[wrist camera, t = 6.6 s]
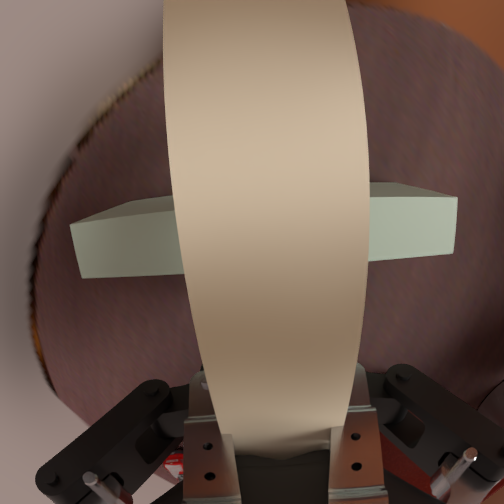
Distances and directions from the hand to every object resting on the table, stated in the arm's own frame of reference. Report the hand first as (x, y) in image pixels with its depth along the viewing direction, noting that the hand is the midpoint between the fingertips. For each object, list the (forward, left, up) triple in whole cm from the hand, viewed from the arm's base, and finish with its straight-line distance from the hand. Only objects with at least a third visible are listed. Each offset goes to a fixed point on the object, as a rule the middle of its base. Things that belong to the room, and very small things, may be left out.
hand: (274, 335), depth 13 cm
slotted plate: (+4, -2, -1) cm, 5 cm away
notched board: (+4, -1, -9) cm, 10 cm away
